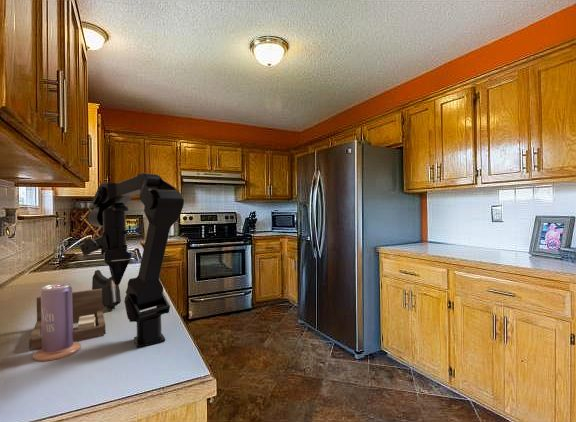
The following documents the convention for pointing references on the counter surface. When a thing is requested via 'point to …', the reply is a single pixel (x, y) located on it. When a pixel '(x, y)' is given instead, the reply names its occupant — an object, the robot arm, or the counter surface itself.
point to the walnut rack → (76, 317)
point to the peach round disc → (48, 357)
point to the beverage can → (56, 318)
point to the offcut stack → (86, 321)
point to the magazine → (106, 289)
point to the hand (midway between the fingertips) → (115, 281)
